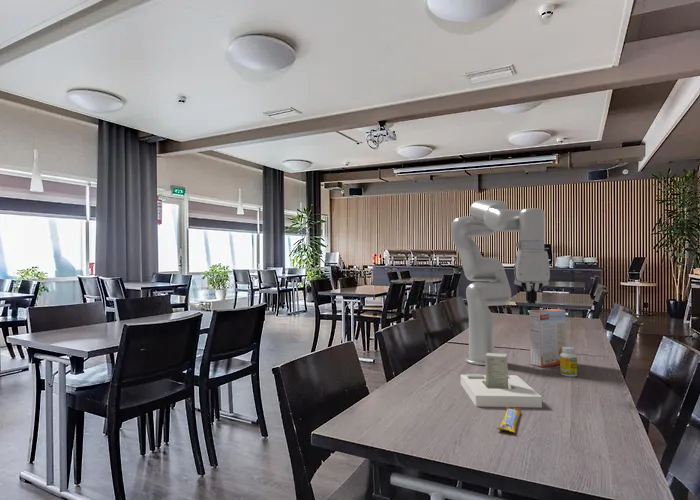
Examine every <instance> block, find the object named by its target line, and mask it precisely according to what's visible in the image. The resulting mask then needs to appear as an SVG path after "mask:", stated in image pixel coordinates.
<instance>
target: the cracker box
mask: <svg viewBox="0 0 700 500" xmlns="http://www.w3.org/2000/svg"><path fill="white" fill-rule="evenodd" d="M566 314H567V313H566V309H560V308H559V309H558V308H549V309H535V310H529V311H528V320H529V321H528V322H529V323H528V324H529V326H528V327H529V356H530V357H529V359H530V360H529V364H530V365H532V366H536V367H541V368H545V367H552V366H556V365H560V354H561V353H563V351H562V347H567V319H566V316H567V315H566Z"/></svg>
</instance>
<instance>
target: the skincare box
mask: <svg viewBox="0 0 700 500" xmlns="http://www.w3.org/2000/svg"><path fill="white" fill-rule="evenodd" d="M508 364H509V363H508V353H501V352H500V353H499V352H494V353H486V355H485V365H484V367H485V375H486V387H487V388H490V389H508V375H509V370H508V369H509V368H508Z"/></svg>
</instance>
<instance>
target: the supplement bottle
mask: <svg viewBox="0 0 700 500" xmlns="http://www.w3.org/2000/svg"><path fill="white" fill-rule="evenodd" d="M575 350H576V349H575V347H573V346H566V347H562V351H563V353H561V354H560V364H559V367H560V368H559V369H560V370H559V371H560V374H561V376H564V377H571V378H573V377H577V376H578V356H577V354H576V353H575V352H576V351H575Z"/></svg>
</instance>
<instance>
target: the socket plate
mask: <svg viewBox="0 0 700 500" xmlns="http://www.w3.org/2000/svg"><path fill="white" fill-rule="evenodd" d="M460 385H461V386H462V388H463V390H464V391H465V393H466V394H467V395H468V397H469V399H470V400H471V401H472V403H473V405H474V406H475V407H478V408H480V407H488V408H489V407H490V408H499V407H500V408H506V407H509V408H543V397H542V395H540V394H539V393H538V392H537V391H536V390H535V389H534V388H532V387H531V386H530V385H528V383H527V382H525V380H523V379H522V378H521V377H519V376H518V375H514V374H513V375H512V374H510V375H509V374H508V389H490V388H487V387H486V374H482V373H466V374H460Z"/></svg>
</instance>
